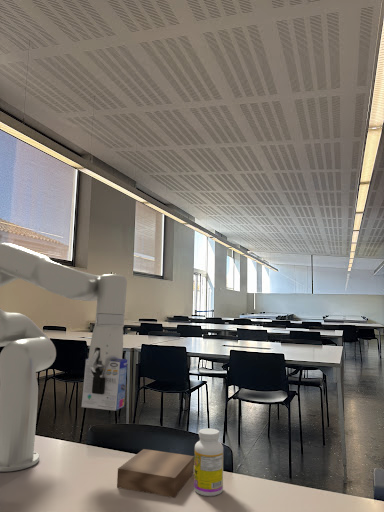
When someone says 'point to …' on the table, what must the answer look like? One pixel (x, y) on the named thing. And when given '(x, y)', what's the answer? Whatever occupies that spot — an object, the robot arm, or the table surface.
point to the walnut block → (156, 472)
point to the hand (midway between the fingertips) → (104, 390)
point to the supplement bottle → (208, 463)
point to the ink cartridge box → (106, 386)
